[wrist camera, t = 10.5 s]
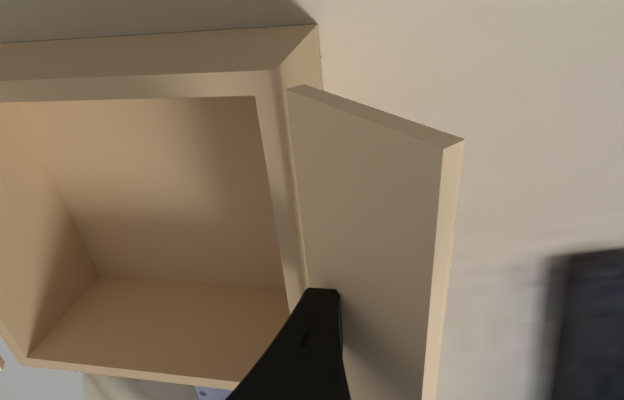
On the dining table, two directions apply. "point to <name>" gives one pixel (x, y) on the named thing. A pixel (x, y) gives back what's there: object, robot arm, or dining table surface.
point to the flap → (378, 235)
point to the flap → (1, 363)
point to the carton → (151, 201)
